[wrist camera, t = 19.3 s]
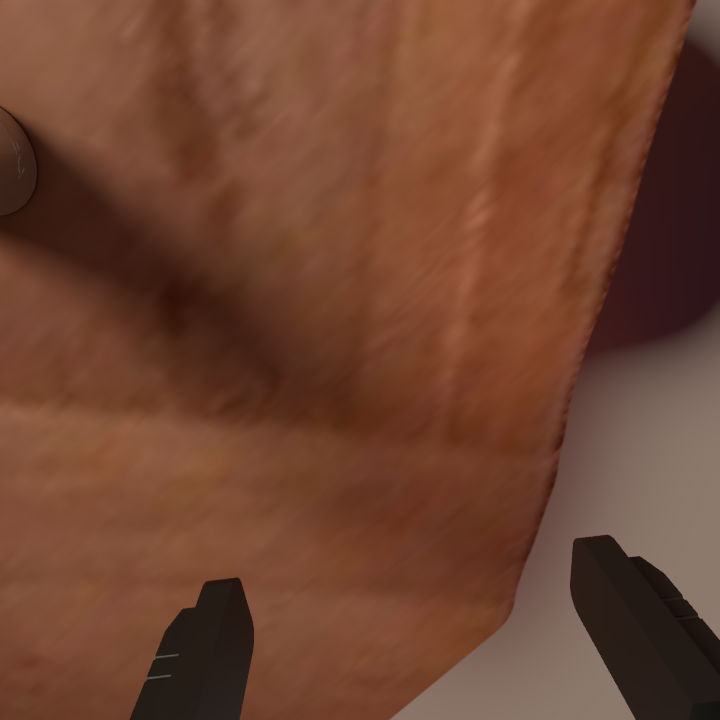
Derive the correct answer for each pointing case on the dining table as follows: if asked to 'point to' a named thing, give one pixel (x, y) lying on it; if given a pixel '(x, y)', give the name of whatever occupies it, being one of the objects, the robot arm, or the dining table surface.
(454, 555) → the dining table surface
